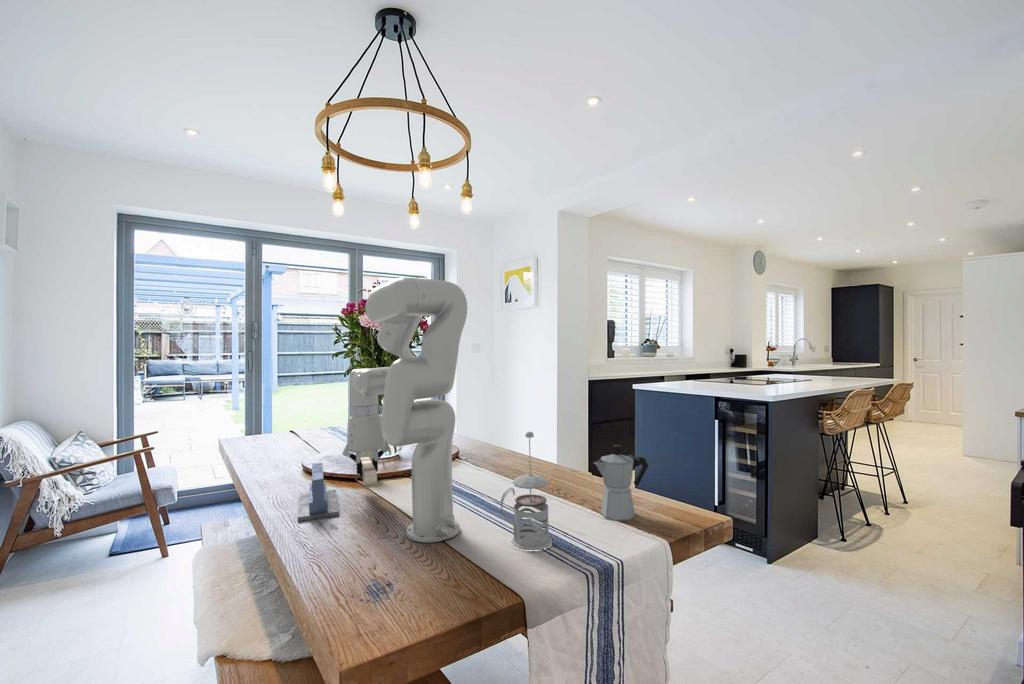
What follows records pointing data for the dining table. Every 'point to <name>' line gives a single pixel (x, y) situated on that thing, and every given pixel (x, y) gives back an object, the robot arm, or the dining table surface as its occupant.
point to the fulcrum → (317, 498)
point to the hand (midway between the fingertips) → (367, 474)
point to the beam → (368, 473)
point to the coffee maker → (619, 484)
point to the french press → (527, 534)
